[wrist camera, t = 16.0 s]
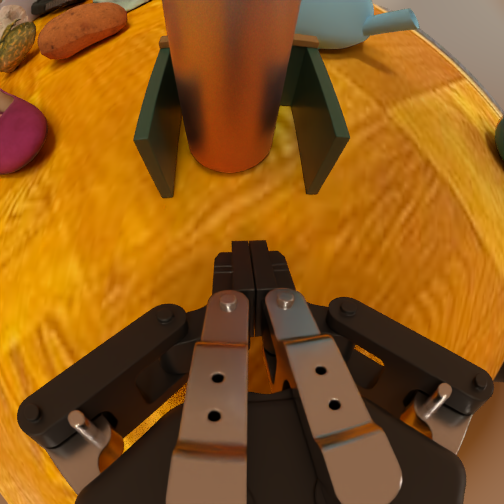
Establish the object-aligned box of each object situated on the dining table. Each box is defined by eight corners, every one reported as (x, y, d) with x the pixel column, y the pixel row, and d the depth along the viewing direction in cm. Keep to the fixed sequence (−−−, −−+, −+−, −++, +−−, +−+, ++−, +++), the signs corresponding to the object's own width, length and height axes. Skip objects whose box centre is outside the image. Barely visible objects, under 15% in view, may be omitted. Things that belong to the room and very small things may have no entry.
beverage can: (183, 125, 19) (154, -56, 5) (256, 109, 20) (278, -64, 6) (199, 187, 18) (158, -44, 4) (282, 167, 19) (342, -42, 4)
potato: (42, 55, 21) (33, 20, 15) (121, 22, 26) (121, -14, 19) (45, 76, 21) (33, 35, 14) (134, 38, 25) (135, -3, 18)
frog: (35, 29, 26) (64, 41, 26) (-9, 72, 24) (8, 95, 24) (16, -4, 14) (40, -5, 14) (-34, 43, 12) (-27, 57, 12)
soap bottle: (6, 42, 27) (-22, -14, 5) (2, 42, 28) (-24, -10, 5) (43, 13, 30) (22, -44, 8) (37, 14, 31) (16, -39, 8)
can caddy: (317, 194, 18) (354, 130, 12) (161, 198, 18) (128, 132, 11) (298, 100, 21) (316, 36, 14) (174, 102, 20) (161, 36, 13)
